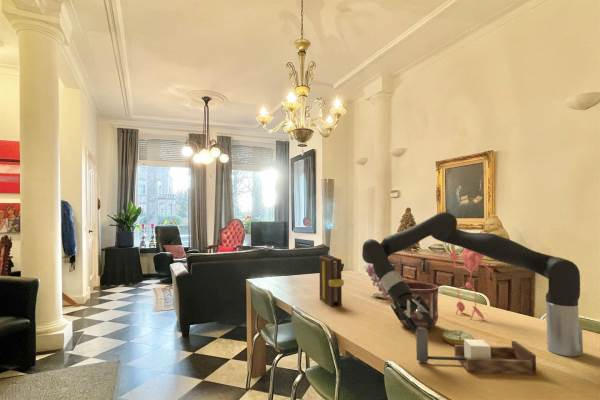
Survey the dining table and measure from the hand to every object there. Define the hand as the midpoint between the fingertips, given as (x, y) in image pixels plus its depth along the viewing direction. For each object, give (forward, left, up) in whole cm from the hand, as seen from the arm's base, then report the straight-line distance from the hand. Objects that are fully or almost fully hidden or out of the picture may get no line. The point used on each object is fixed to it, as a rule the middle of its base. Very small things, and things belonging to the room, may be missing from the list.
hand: (423, 327), depth 113 cm
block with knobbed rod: (-9, -1, -11) cm, 14 cm away
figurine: (-38, -58, -12) cm, 70 cm away
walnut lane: (-22, -1, -12) cm, 25 cm away
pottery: (-7, -39, -12) cm, 41 cm away
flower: (+1, -97, -12) cm, 98 cm away
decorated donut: (-18, -21, -12) cm, 30 cm away
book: (+32, -77, -12) cm, 84 cm away
